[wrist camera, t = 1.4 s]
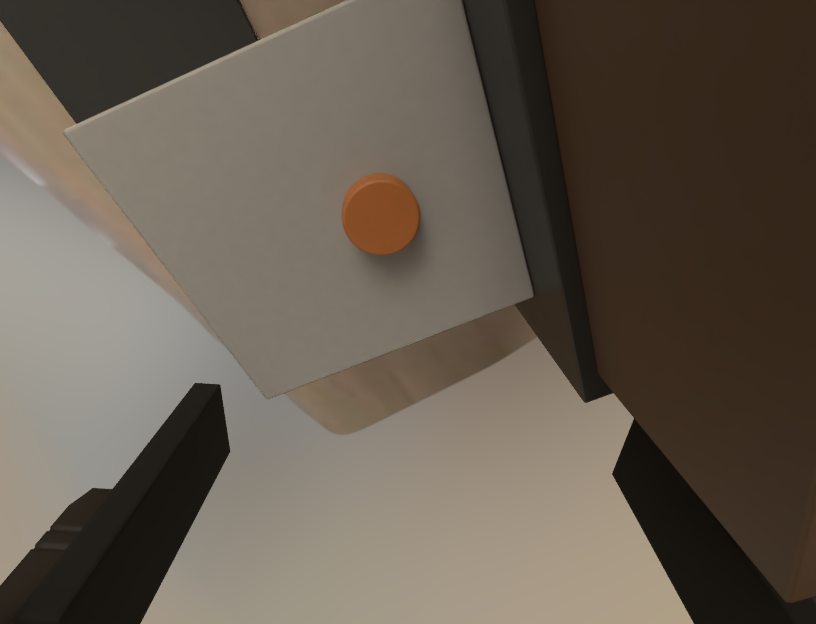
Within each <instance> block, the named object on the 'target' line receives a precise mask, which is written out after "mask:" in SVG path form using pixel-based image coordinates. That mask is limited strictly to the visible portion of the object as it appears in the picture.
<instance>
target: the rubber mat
mask: <svg viewBox="0 0 816 624" xmlns="http://www.w3.org/2000/svg"><path fill="white" fill-rule="evenodd" d="M0 21H1V22H2V24H3V25H4V26H5V28H6V29H7V30H8V32H9V33H10V34H11V36H12V37H13V38H14V40H15V41H16V43H17V44H18V45H19V47H20V48H21V49H22V51H23V52H24V53H25V55H26V56H27V57H28V59H29V60H30V61H31V63H32V64H33V65H34V67H35V68H36V70H37V71H38V72H39V74H40V75H41V76H42V78H43V79H44V80H45V82H46V83H47V84H48V86H49V87H50V88H51V90H52V91H53V93H54V94H55V95H56V97H57V98H58V99H59V101H60V102H61V103H62V105H63V106H64V107H65V109H66V110H67V111H68V113H69V114H70V115H71V117H72V118H73V120H74V121H75V122H76V124H78V123H80V122H82V121H84V120H87V119H89V118H91V117H93V116H95V115H97V114H100V113H102V112H104V111H106V110H108V109H110V108H113V107H115V106H117V105H119V104H121V103H124V102H126V101H128V100H130V99H132V98H134V97H137V96H139V95H141V94H143V93H145V92H148V91H150V90H152V89H154V88H156V87H158V86H161V85H163V84H165V83H167V82H169V81H171V80H174V79H176V78H178V77H180V76H182V75H185V74H187V73H189V72H191V71H193V70H195V69H198V68H200V67H202V66H204V65H206V64H208V63H211V62H213V61H215V60H217V59H219V58H222V57H224V56H226V55H228V54H230V53H232V52H235V51H237V50H239V49H241V48H243V47H245V46H248V45H250V44H252V43H254V42H256V41H258V39H257V37H256V35H255V33H254V31H253V29H252V27H251V25H250V23H249V20H248V18H247V16H246V14H245V12H244V10H243V8H242V6H241V4H240V2H239V0H0Z"/></svg>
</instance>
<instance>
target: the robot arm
mask: <svg viewBox="0 0 816 624" xmlns="http://www.w3.org/2000/svg"><path fill="white" fill-rule="evenodd" d="M229 453H230V447H229V440H228V434H227V427H226V420H225V414H224V407H223V400H222V394H221V388H220V385H218V384H203V383H195V384H194V385H193V386H192V388H191V389H190V390H189V392H188V393H187V394H186V396H185V397H184V398H183V399H182V401H181V402H180V403H179V404H178V406H177V407H176V408H175V410H174V411H173V412H172V414H171V415H170V416H169V417H168V419H167V420H166V421H165V422H164V424H163V425H162V426H161V428H160V429H159V430H158V431H157V433H156V434H155V435H154V437H153V438H152V439H151V440H150V442H149V443H148V444H147V446H146V447H145V448H144V449H143V451H142V452H141V453H140V455H139V456H138V457H137V458H136V460H135V461H134V463H133V464H132V465H131V466H130V467H129V469H128V470H127V471H126V473H125V474H124V475H123V477H122V478H121V479H120V480H119V482H118V483H117V484H116V486H115V487H114V488H113V489H99V488H98V489H97V488H92V489H91V490H90V491H88V492H87V493H85V494H84V495H83V496H82V497H80V498H79V499H77V500H76V501H74V502H73V503H72V504H71V505H69V506H68V507H67V508H66V510H65V511H64V512H63V513H62V514H61V515H60V517H59V518H58V519H57V520H56V521H55V522H54V523H53V525H52V526H51V529H50V531H47V532H46V533H45V534H44V535H43V536H42V538H41V539H40V540H39V541H38V542H37V543H36V545H35V548H34V549H32V550H30V552H29V553H28V554H27V555H26V556H25V558H24V559H23V560H22V561H21V562H20V563H19V564H18V566H17V567H16V568H15V569H14V570H13V571H12V573H11V574H10V575H9V576H8V577H7V579H6V580H5V581H4V582H3V583H2V585H0V624H140V623H141V621H142V619H143V617H144V615H145V614H146V612H147V610H148V608H149V606H150V604H151V602H152V600H153V598H154V596H155V594H156V593H157V591H158V589H159V587H160V585H161V582H162V581H163V579H164V577H165V575H166V573H167V571H168V569H169V568H170V566H171V564H172V562H173V560H174V558H175V556H176V554H177V552H178V550H179V548H180V546H181V545H182V543H183V541H184V539H185V537H186V535H187V533H188V531H189V529H190V527H191V525H192V524H193V522H194V520H195V518H196V516H197V514H198V512H199V510H200V508H201V506H202V504H203V502H204V500H205V499H206V497H207V495H208V493H209V491H210V489H211V487H212V485H213V483H214V481H215V479H216V478H217V476H218V474H219V472H220V470H221V468H222V466H223V464H224V462H225V460H226V458H227V457H228V454H229ZM612 475H613V476H614V478H615V480H616V482H617V484H618V485H619V487H620V489H621V491H622V493H623V495H624V497H625V498H626V500H627V502H628V504H629V506H630V508H631V509H632V511H633V513H634V515H635V517H636V518H637V520H638V522H639V524H640V526H641V528H642V529H643V531H644V533H645V535H646V537H647V538H648V540H649V542H650V544H651V546H652V548H653V550H654V551H655V553H656V555H657V557H658V559H659V561H660V562H661V564H662V566H663V568H664V569H665V571H666V573H667V575H668V577H669V579H670V580H671V582H672V584H673V586H674V588H675V590H676V591H677V593H678V595H679V597H680V599H681V601H682V603H683V604H684V606H685V608H686V610H687V611H688V613H689V615H690V617H691V619H692V621H693V623H694V624H816V596H813V597H810V598H806V599H803V600H800V601H797V602H793V603H787V602H786V601H785V600H783V598H782V597H781V596H780V595H779V594H778V592H777V591H776V590H775V589H774V588H773V586H772V585H771V584H770V583H769V581H768V580H767V579H766V578H765V577H764V575H763V574H762V573H761V572H760V571H759V569H758V568H757V567H756V566H755V564H754V563H753V562H752V561H751V560H750V558H749V557H748V556H747V555H746V553H745V552H744V551H743V550H742V549H741V547H740V546H739V545H738V544H737V543H736V541H735V540H734V539H733V538H732V536H731V535H730V534H729V533H728V532H727V530H726V529H725V528H724V527H723V525H722V524H721V523H720V522H719V521H718V519H717V518H716V517H715V516H714V515H713V513H712V512H711V511H710V510H709V508H708V507H707V506H706V505H705V504H704V502H703V501H702V500H701V499H700V498H699V496H698V495H697V494H696V493H695V491H694V490H693V489H692V488H691V487H690V485H689V484H688V483H687V482H686V480H685V479H684V478H683V477H682V476H681V474H680V473H679V472H678V471H677V470H676V468H675V467H674V466H673V465H672V463H671V462H670V461H669V460H668V459H667V457H666V456H665V455H664V454H663V452H662V451H661V450H660V449H659V448H658V446H657V445H656V444H655V443H654V442H653V440H652V439H651V438H650V437H649V435H648V434H647V433H646V432H645V431H644V429H643V428H642V427H641V426H640V425H639V423H638V422H637V421H636V420H635V418H634V420H633V423H632V426H631V428H630V430H629V433H628V435H627V438H626V440H625V443H624V445H623V448H622V450H621V453H620V455H619V458H618V461H617V463H616V466H615V468H614V471H613V473H612Z"/></svg>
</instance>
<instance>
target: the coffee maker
mask: <svg viewBox="0 0 816 624" xmlns="http://www.w3.org/2000/svg"><path fill="white" fill-rule="evenodd" d="M63 134H64V136H65V137H66V138H67V140H68V141H69V142H70V144H71V145H72V146H73V147H74V149H75V150H76V151H77V153H78V154H79V155H80V157H81V158H82V159H83V160H84V162H85V163H86V164H87V166H88V167H89V168H90V170H91V171H92V172H93V174H94V175H95V176H96V177H97V179H98V180H99V181H100V183H101V184H102V185H103V187H104V188H105V189H106V191H107V192H108V193H109V194H110V196H111V197H112V198H113V200H114V201H115V202H116V204H117V205H118V206H119V208H120V209H121V210H122V211H123V213H124V214H125V215H126V217H127V218H128V219H129V221H130V222H131V223H132V224H133V226H134V227H135V228H136V230H137V231H138V232H139V234H140V235H141V236H142V238H143V239H144V240H145V241H146V243H147V244H148V245H149V247H150V248H151V249H152V251H153V252H154V253H155V255H156V256H157V257H158V258H159V260H160V261H161V262H162V264H163V265H164V266H165V268H166V269H167V270H168V272H169V273H170V274H171V275H172V277H173V278H174V279H175V281H176V282H177V283H178V285H179V286H180V287H181V288H182V290H183V291H184V292H185V294H186V295H187V296H188V298H189V299H190V300H191V302H192V303H193V304H194V305H195V307H196V308H197V309H198V311H199V312H200V313H201V315H202V316H203V317H204V319H205V320H206V321H207V322H208V324H209V325H210V326H211V328H212V329H213V330H214V332H215V333H216V334H217V336H218V337H219V338H220V339H221V341H222V342H223V343H224V345H225V346H226V347H227V349H228V350H229V351H230V352H231V354H232V355H233V356H234V358H235V359H236V360H237V362H238V363H239V364H240V366H241V367H242V368H243V369H244V371H245V372H246V373H247V375H248V376H249V377H250V379H251V380H252V381H253V382H254V384H255V385H256V386H257V388H258V389H259V390H260V392H261V393H262V394H263V395H264V397H265V398H266V399H270V398H273V397H276V396H278V395H281V394H283V393H286V392H289V391H291V390H294V389H296V388H299V387H301V386H304V385H307V384H309V383H312V382H314V381H317V380H320V379H322V378H325V377H327V376H330V375H333V374H335V373H338V372H340V371H343V370H346V369H348V368H351V367H353V366H356V365H358V364H361V363H364V362H366V361H369V360H371V359H374V358H377V357H379V356H382V355H384V354H387V353H390V352H392V351H395V350H397V349H400V348H402V347H405V346H408V345H410V344H413V343H415V342H418V341H421V340H423V339H426V338H428V337H431V336H434V335H436V334H439V333H441V332H444V331H447V330H449V329H452V328H454V327H457V326H459V325H462V324H465V323H467V322H470V321H472V320H475V319H478V318H480V317H483V316H485V315H488V314H491V313H493V312H496V311H498V310H501V309H503V308H506V307H509V306H511V305H514V304H515V306H516V307H517V308H518V310H519V311H520V313H521V314H522V315H523V317H524V318H525V320H526V321H527V323H528V324H529V325H530V327H531V328H532V330H533V331H534V332H535V334H536V335H537V337H538V338H539V339H540V341H541V342H542V344H543V345H544V346H545V348H546V349H547V351H548V352H549V353H550V355H551V356H552V358H553V359H554V360H555V362H556V363H557V365H558V366H559V368H560V369H561V370H562V372H563V373H564V374H565V376H566V377H567V379H568V380H569V381H570V383H571V384H572V386H573V387H574V389H575V390H576V391H577V393H578V394H579V396H580V397H581V398H582V400H583V401H584V402H585V403H587V402H590V401H592V400H595V399H598V398H601V397H603V396H606V395H609V394H612V393H614V394H615V395H616V396H617V398H618V399H619V400H620V401H621V403H622V404H623V405H624V406H625V407H626V409H627V410H628V411H629V412H630V414H631V415H632V416H633V417H634V418H635V420H636V421H637V422H638V423H639V425H640V426H641V427H642V428H643V429H644V431H645V432H646V433H647V434H648V435H649V437H650V438H651V439H652V440H653V442H654V443H655V444H656V445H657V446H658V448H659V449H660V450H661V451H662V452H663V454H664V455H665V456H666V457H667V459H668V460H669V461H670V462H671V463H672V465H673V466H674V467H675V468H676V470H677V471H678V472H679V473H680V474H681V476H682V477H683V478H684V479H685V480H686V482H687V483H688V484H689V485H690V487H691V488H692V489H693V490H694V491H695V493H696V494H697V495H698V496H699V498H700V499H701V500H702V501H703V502H704V504H705V505H706V506H707V507H708V508H709V510H710V511H711V512H712V513H713V515H714V516H715V517H716V518H717V519H718V521H719V522H720V523H721V524H722V525H723V527H724V528H725V529H726V530H727V532H728V533H729V534H730V535H731V536H732V538H733V539H734V540H735V541H736V543H737V544H738V545H739V546H740V547H741V549H742V550H743V551H744V552H745V553H746V555H747V556H748V557H749V558H750V560H751V561H752V562H753V563H754V564H755V566H756V567H757V568H758V569H759V571H760V572H761V573H762V574H763V575H764V577H765V578H766V579H767V580H768V581H769V583H770V584H771V585H772V586H773V588H774V589H775V590H776V591H777V592H778V594H779V595H780V596H781V597H782V598H783V600H785V601H786V602H787V603H793V602H797V601H800V600H803V599H806V598H810V597H813V596H816V0H346V1H343V2H341V3H339V4H337V5H335V6H333V7H330V8H328V9H326V10H324V11H322V12H320V13H317V14H315V15H313V16H311V17H309V18H306V19H304V20H302V21H300V22H298V23H296V24H293V25H291V26H289V27H287V28H285V29H282V30H280V31H278V32H276V33H274V34H272V35H269V36H267V37H265V38H263V39H261V40H259V41H256V42H254V43H252V44H250V45H248V46H245V47H243V48H241V49H239V50H237V51H235V52H232V53H230V54H228V55H226V56H224V57H222V58H219V59H217V60H215V61H213V62H211V63H208V64H206V65H204V66H202V67H200V68H198V69H195V70H193V71H191V72H189V73H187V74H185V75H182V76H180V77H178V78H176V79H174V80H171V81H169V82H167V83H165V84H163V85H161V86H158V87H156V88H154V89H152V90H150V91H148V92H145V93H143V94H141V95H139V96H137V97H134V98H132V99H130V100H128V101H126V102H124V103H121V104H119V105H117V106H115V107H113V108H110V109H108V110H106V111H104V112H102V113H100V114H97V115H95V116H93V117H91V118H89V119H87V120H84V121H82V122H80V123H78V124H76V125H73V126H71V127H69V128H67V129H65V130H64V132H63Z"/></svg>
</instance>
